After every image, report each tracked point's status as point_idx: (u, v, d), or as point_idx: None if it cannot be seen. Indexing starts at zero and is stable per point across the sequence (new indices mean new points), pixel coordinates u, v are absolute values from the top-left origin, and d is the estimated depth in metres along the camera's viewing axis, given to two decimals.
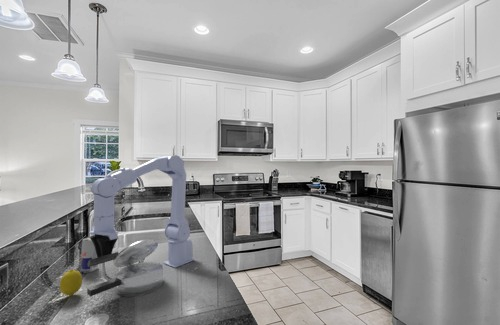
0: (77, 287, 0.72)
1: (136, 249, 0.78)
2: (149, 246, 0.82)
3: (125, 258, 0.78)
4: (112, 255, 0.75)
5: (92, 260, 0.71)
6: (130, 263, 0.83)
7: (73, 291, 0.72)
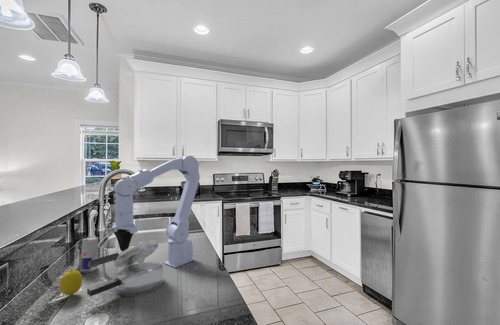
0: (77, 287, 0.72)
1: (136, 250, 0.78)
2: (149, 247, 0.82)
3: (125, 259, 0.78)
4: (112, 256, 0.75)
5: (92, 261, 0.70)
6: (130, 263, 0.83)
7: (73, 291, 0.72)
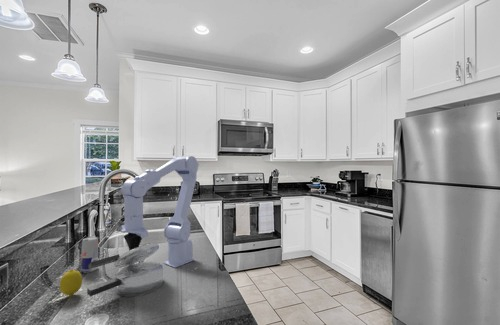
0: (77, 287, 0.72)
1: (137, 253, 0.77)
2: (150, 249, 0.82)
3: (126, 260, 0.78)
4: (113, 258, 0.74)
5: (93, 263, 0.70)
6: (130, 263, 0.83)
7: (73, 291, 0.72)
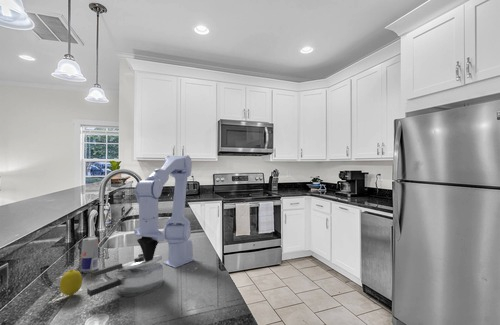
0: (77, 287, 0.72)
1: None
2: None
3: None
4: (116, 267, 0.73)
5: (96, 273, 0.69)
6: None
7: (73, 291, 0.72)
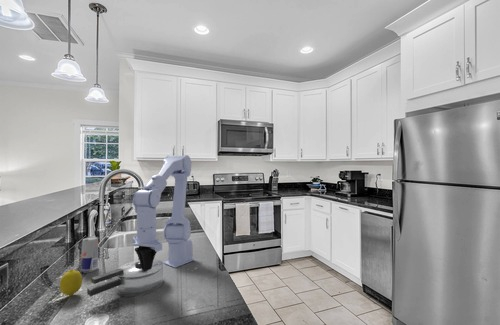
0: (77, 287, 0.72)
1: None
2: None
3: None
4: (117, 274, 0.73)
5: (97, 280, 0.68)
6: None
7: (73, 291, 0.72)
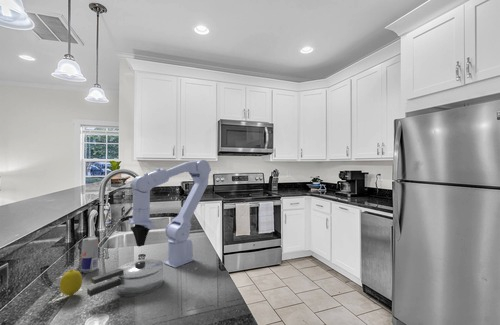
0: (77, 287, 0.72)
1: None
2: None
3: None
4: (117, 274, 0.73)
5: (97, 280, 0.68)
6: None
7: (73, 291, 0.72)
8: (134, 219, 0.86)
